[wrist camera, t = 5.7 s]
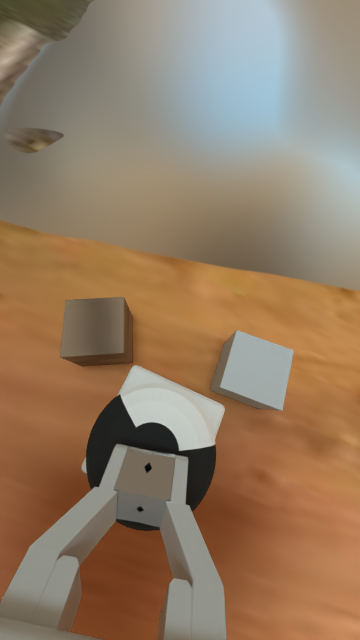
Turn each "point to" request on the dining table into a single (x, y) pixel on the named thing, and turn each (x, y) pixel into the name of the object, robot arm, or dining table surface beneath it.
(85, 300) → the walnut block
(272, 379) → the grey painted block
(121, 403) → the medicine bottle
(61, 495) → the dining table surface
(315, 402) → the dining table surface
